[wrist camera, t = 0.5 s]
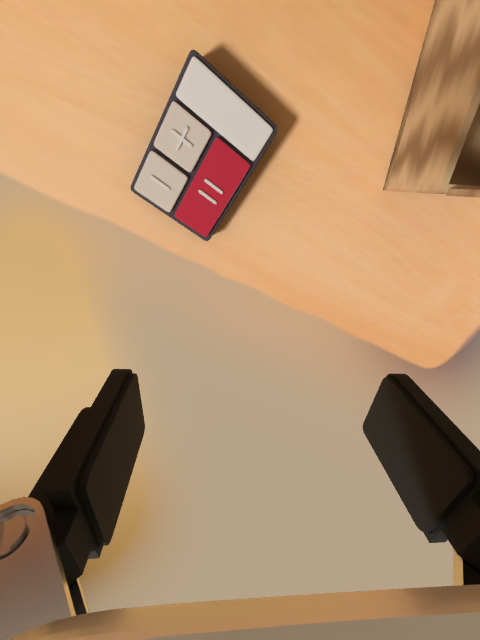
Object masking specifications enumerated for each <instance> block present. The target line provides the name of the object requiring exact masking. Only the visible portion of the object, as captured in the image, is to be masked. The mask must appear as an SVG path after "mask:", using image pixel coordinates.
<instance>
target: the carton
mask: <svg viewBox="0 0 480 640" xmlns="http://www.w3.org/2000/svg"><path fill="white" fill-rule="evenodd" d="M383 190H386V191H404V192H421V193H439V194H447V195H446V196H464V197H480V0H435V4H434V8H433V11H432V15H431V19H430V22H429V26H428V29H427V33H426V37H425V40H424V44H423V47H422V51H421V55H420V58H419V62H418V65H417V69H416V73H415V76H414V80H413V83H412V87H411V91H410V94H409V98H408V101H407V105H406V109H405V112H404V116H403V119H402V123H401V127H400V130H399V134H398V138H397V141H396V145H395V148H394V152H393V156H392V159H391V163H390V166H389V170H388V174H387V177H386V181H385V184H384V188H383Z"/></svg>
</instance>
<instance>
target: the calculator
mask: <svg viewBox="0 0 480 640" xmlns="http://www.w3.org/2000/svg"><path fill="white" fill-rule="evenodd" d="M277 130H278V129H277V126H276V125H275V124H274V123H273V122H272V121H271V120H270V119H269V118H267V117H266V116H265V115H264V114H263V113H262V112H261V111H260V110H259V109H258V108H257V107H256V106H255V105H254V104H252V103H251V102H250V101H249V100H248V99H247V98H246V97H245V96H244V95H243V94H242V93H241V92H240V91H239V90H237V89H236V88H235V87H234V86H233V85H232V84H231V83H230V82H229V81H228V80H227V79H226V78H225V77H224V76H222V75H221V74H220V73H219V72H218V71H217V70H216V69H215V68H214V67H213V66H212V65H211V64H210V63H209V62H207V61H206V60H205V59H204V58H203V57H202V56H201V55H200V54H199V53H198V52H197V51H195V50H191V51H190V53H189V55H188V57H187V59H186V62H185V64H184V66H183V69H182V71H181V73H180V75H179V78H178V80H177V82H176V84H175V87H174V89H173V91H172V94H171V96H170V98H169V100H168V103H167V105H166V107H165V110H164V112H163V114H162V116H161V119H160V121H159V123H158V125H157V128H156V130H155V132H154V135H153V137H152V139H151V141H150V144H149V146H148V148H147V150H146V153H145V155H144V157H143V160H142V162H141V164H140V166H139V169H138V171H137V173H136V175H135V178H134V180H133V182H132V185H131V190H132V191H133V192H134V193H135V194H137V195H138V196H140V197H141V198H143V199H144V200H146V201H147V202H149V203H150V204H152V205H153V206H154V207H156V208H157V209H159V210H160V211H162V212H163V213H165V214H166V215H168V216H169V217H171V218H172V219H174V220H175V221H177V222H178V223H180V224H181V225H183V226H184V227H186V228H187V229H188V230H190V231H191V232H193V233H194V234H196V235H197V236H199V237H200V238H202V239H203V240H205V241H208V240H209V239H210V238H211V236H212V235H213V233H214V232H215V230H216V229H217V227H218V225H219V224H220V222H221V221H222V219H223V217H224V216H225V214H226V213H227V211H228V209H229V208H230V206H231V205H232V203H233V202H234V200H235V198H236V197H237V195H238V194H239V192H240V190H241V189H242V187H243V186H244V184H245V182H246V181H247V179H248V178H249V176H250V175H251V173H252V171H253V170H254V168H255V167H256V165H257V163H258V162H259V160H260V159H261V157H262V155H263V154H264V152H265V151H266V149H267V148H268V146H269V144H270V143H271V141H272V140H273V138H274V136H275V135H276V133H277Z"/></svg>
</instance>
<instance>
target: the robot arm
mask: <svg viewBox="0 0 480 640" xmlns="http://www.w3.org/2000/svg"><path fill="white" fill-rule="evenodd" d="M144 429H145V424H144V416H143V410H142V403H141V397H140V390H139V384H138V377H137V374H133V373H132V371H131V370H130V369H114V370H112V372H111V373H110V375H109V377H108V378H107V380H106V382H105V384H104V385H103V387H102V389H101V391H100V392H99V394H98V396H97V398H96V399H95V401H94V403H93V404H92V406H91V407H86V408H84V409H83V410H82V411H81V412H80V413H79V415H78V416H77V418H76V420H75V421H74V423H73V425H72V426H71V428H70V429H69V431H68V433H67V434H66V436H65V437H64V439H63V441H62V443H61V444H60V446H59V448H58V449H57V451H56V452H55V454H54V455H53V457H52V459H51V460H50V462H49V464H48V465H47V467H46V468H45V470H44V472H43V474H42V475H41V477H40V478H39V480H38V482H37V483H36V485H35V487H34V488H33V490H32V491H31V493H30V495H29V497H23V498H18V499H13V500H11V501H8V502H6V503H4V504H2V505H0V640H480V451H479V449H477V447H476V446H475V445H474V444H473V443H472V442H471V441H470V440H469V439H468V438H467V437H466V436H465V435H464V434H463V433H462V432H461V431H460V430H459V428H458V427H457V426H456V425H455V424H454V423H453V422H452V421H451V420H450V419H449V418H448V417H447V416H446V415H445V414H444V413H443V412H442V411H441V410H440V409H439V407H437V405H436V404H435V403H434V402H433V401H432V400H431V399H430V398H429V397H428V396H427V395H426V394H425V393H424V392H423V391H422V390H421V389H420V388H419V387H418V385H416V384H415V382H414V381H413V380H412V379H411V378H410V377H409V376H408V375H406V374H388V375H387V376H386V378H384V379H383V381H382V382H381V385H380V387H379V390H378V392H377V394H376V396H375V398H374V401H373V403H372V405H371V407H370V410H369V412H368V414H367V416H366V419H365V421H364V423H363V431H364V434H365V435H366V437H367V439H368V441H369V443H370V444H371V446H372V448H373V449H374V451H375V453H376V455H377V456H378V459H379V460H380V462H381V464H382V466H383V467H384V469H385V471H386V472H387V474H388V476H389V478H390V480H391V481H392V483H393V485H394V487H395V489H396V491H397V492H398V494H399V496H400V498H401V499H402V501H403V503H404V505H405V506H406V508H407V510H408V512H409V514H410V515H411V517H412V519H413V521H414V522H415V524H416V526H417V527H418V528H419V529H420V530H421V531H422V532H424V534H425V536H426V537H427V539H428V541H429V543H438V542H446V541H447V540H449V542H450V543H451V545H452V546H453V565H454V566H453V572H454V573H453V574H454V586H443V587H425V588H407V589H391V590H374V591H358V592H341V593H326V594H310V595H294V596H279V597H264V598H249V599H235V600H222V601H205V602H192V603H178V604H167V605H157V606H145V607H134V608H122V609H113V610H107V611H100V612H93V613H89V610H88V607H87V604H86V600H85V597H84V594H83V591H82V588H81V584H80V581H79V577H80V576H81V575H82V574H83V571H84V568H85V565H86V562H87V560H88V559H91V558H99V557H100V554H101V551H102V548H103V545H108V544H109V543H110V541H111V538H112V536H113V532H114V529H115V526H116V523H117V519H118V516H119V513H120V510H121V506H122V503H123V500H124V497H125V493H126V490H127V487H128V484H129V480H130V477H131V474H132V471H133V467H134V464H135V461H136V458H137V454H138V451H139V448H140V445H141V441H142V438H143V435H144Z"/></svg>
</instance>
